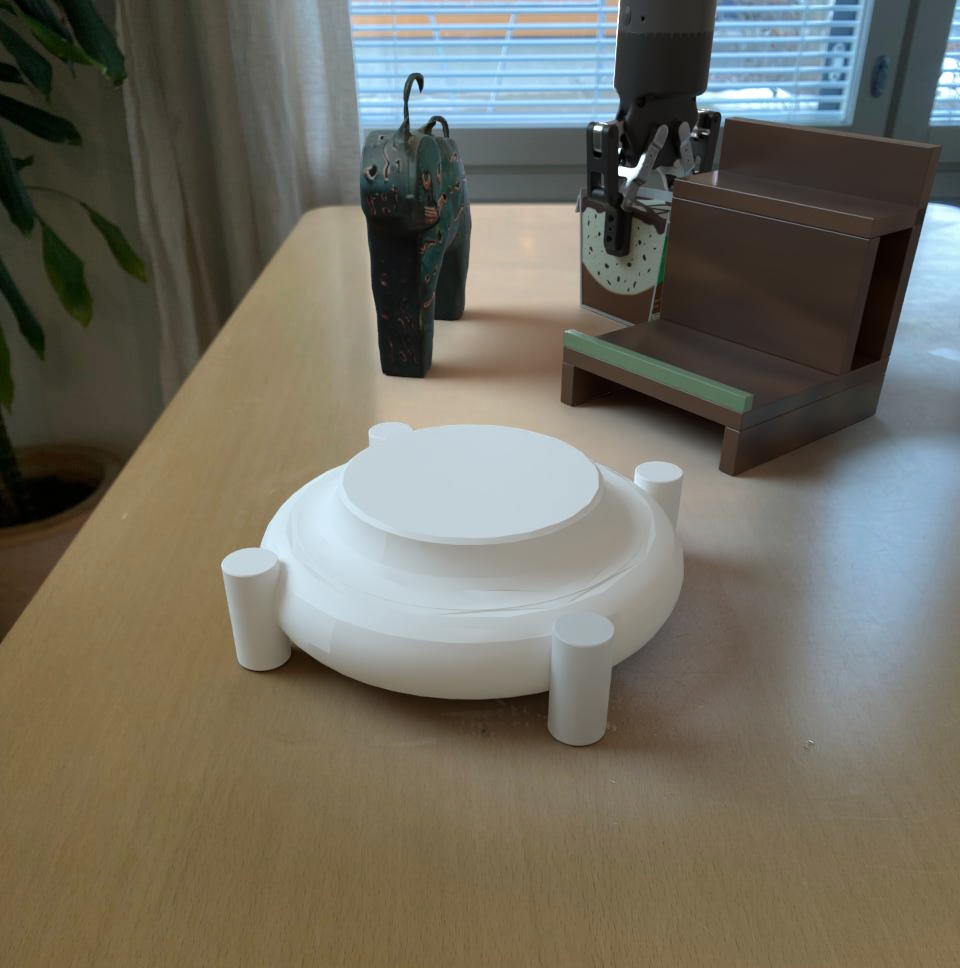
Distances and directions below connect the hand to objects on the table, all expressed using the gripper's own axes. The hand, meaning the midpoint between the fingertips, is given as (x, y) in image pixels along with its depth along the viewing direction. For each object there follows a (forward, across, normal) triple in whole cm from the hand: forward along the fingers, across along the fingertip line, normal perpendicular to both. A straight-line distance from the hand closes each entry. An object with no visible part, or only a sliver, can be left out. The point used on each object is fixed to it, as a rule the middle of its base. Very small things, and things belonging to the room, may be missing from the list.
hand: (644, 248), depth 86 cm
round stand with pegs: (+6, -42, -28) cm, 51 cm away
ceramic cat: (+6, -20, +6) cm, 22 cm away
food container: (+6, 0, 0) cm, 6 cm away
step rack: (+6, -12, -19) cm, 23 cm away
